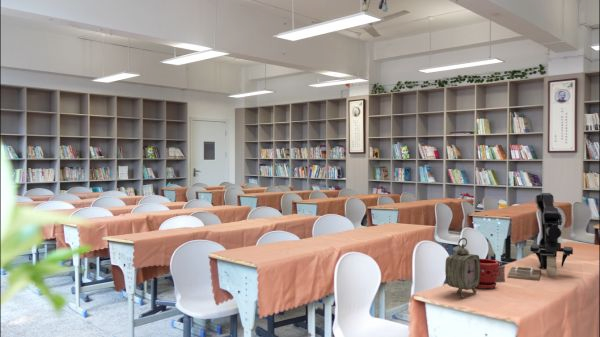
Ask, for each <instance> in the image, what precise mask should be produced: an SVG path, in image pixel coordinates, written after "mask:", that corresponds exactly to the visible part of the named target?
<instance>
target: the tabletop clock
mask: <svg viewBox="0 0 600 337" xmlns="http://www.w3.org/2000/svg"><path fill="white" fill-rule="evenodd" d="M463 240H465V244H464V243H462V244H461V245H460V243H461V241H463ZM457 244H458V247H459V248H458V249H457V251H456V253H454V254H451V255H449V256H447V257H446V258H445V266H444V267H445V270H444V271H445V283H446V285H447V286H448V287H452V288H456V289H457V290H456V294H459V298H460V299H463V298H464V294H463V290H466V291H468V290H472V293H473V294H476V293H477V289H475V288H477V287H476V286H478V285H479V282H480V259H481V258H480V256H479V254H478V255H477V254H472V253H470V252H469V250H468V249H467V248H465V247H466V246H467V245H468V240H467V238H465V237H461V238H460V239H459V240H458V242H457Z"/></svg>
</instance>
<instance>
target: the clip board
mask: <svg viewBox="0 0 600 337" xmlns="http://www.w3.org/2000/svg"><path fill="white" fill-rule="evenodd" d="M541 273H542V269H535V268H533V267H523V266H516V267H514V266H512V267H511V268H510V270H509V272H508V273H507V278H509V279H518V280H527V281H529V280H530V281H537V282H538V281H540V278H541Z"/></svg>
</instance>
